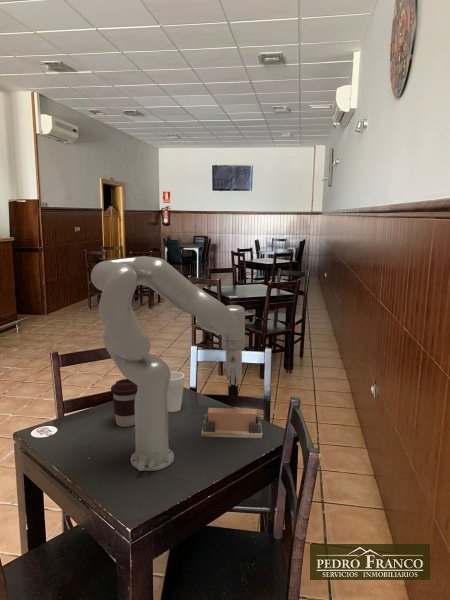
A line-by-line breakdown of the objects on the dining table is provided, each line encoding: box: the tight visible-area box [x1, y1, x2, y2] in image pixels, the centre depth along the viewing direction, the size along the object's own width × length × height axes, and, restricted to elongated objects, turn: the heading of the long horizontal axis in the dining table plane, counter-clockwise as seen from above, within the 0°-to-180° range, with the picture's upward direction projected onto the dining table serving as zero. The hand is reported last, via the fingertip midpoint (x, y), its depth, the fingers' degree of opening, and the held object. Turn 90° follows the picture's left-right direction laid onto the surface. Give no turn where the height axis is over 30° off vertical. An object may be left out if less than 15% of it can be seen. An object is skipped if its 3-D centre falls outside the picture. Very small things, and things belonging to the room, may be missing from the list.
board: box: [200, 413, 263, 439], centre depth 149 cm, size 9×20×4 cm, turn 88°
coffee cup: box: [110, 378, 138, 428], centre depth 154 cm, size 10×10×15 cm
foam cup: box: [168, 371, 186, 413], centre depth 166 cm, size 10×9×13 cm
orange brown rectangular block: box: [207, 407, 257, 431], centre depth 149 cm, size 4×16×6 cm, turn 88°
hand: (233, 396), depth 148 cm, fingers closed
